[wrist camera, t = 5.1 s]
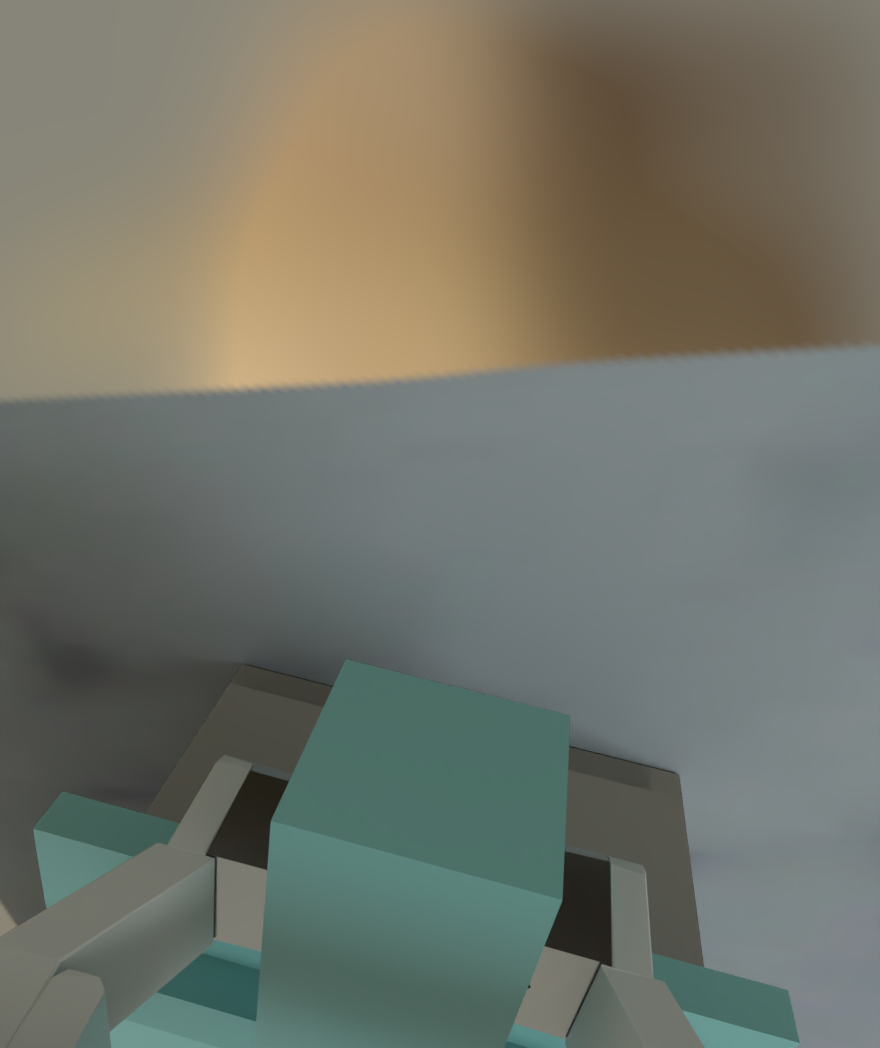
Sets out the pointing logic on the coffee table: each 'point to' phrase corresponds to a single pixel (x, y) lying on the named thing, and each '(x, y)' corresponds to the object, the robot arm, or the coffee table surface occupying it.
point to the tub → (591, 813)
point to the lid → (393, 888)
